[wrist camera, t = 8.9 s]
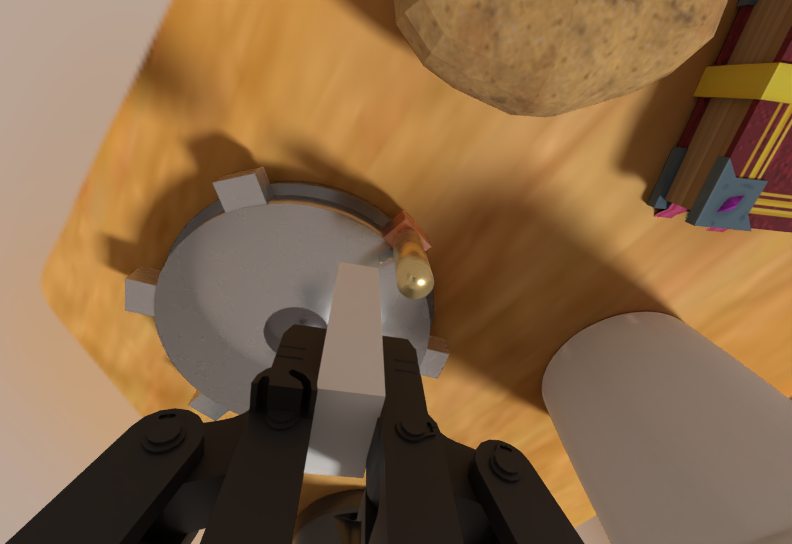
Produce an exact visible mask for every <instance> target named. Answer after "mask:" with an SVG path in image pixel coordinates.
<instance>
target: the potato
mask: <svg viewBox="0 0 792 544" xmlns="http://www.w3.org/2000/svg"><path fill="white" fill-rule="evenodd" d="M727 2H728V0H394V11H395V24H396V25H397V27H398V28H399V30H400V31H401V33H402V34H403V36H404V37H405V39H406V40H407V42H408V43H409V45H410V46H411V48H412V49H413V51H414V52H415V54H416V55H417V57H418V58H419V60H420V61H421V63H422V64H423V66H425V67H426V68H427V69H429V70H430V71H431V72H433V73H434V74H435V75H437V76H438V77H439V78H441V79H442V80H444V81H445V82H446V83H448V84H449V85H450V86H452V87H453V88H455V89H457V90H459V91H461V92H463V93H465V94H467V95H469V96H471V97H474V98H476V99H478V100H480V101H482V102H484V103H486V104H488V105H490V106H493V107H495V108H497V109H499V110H501V111H504V112H506V113H508V114H510V115H522V116H536V117H550V116H556V115H560V114H563V113H567V112H570V111H573V110H577V109H580V108H584V107H587V106H591V105H594V104H597V103H601V102H604V101H607V100H611V99H614V98H617V97H621V96H624V95H627V94H630V93H633V92H635V91H637V90H639V89H641V88H643V87H645V86H647V85H649V84H651V83H653V82H655V81H657V80H659V79H661V78H663V77H665V76H667V75H670V74H671V73H672V72H673V71H674V70H676V69H677V68H678V67H679V66H680V65H681V64H683V63H684V62H685V61H686V60H687V59H688V58H690V57H691V56H692V55H693V54H694V53H695V52H697V51H698V50H699V49H700V48H701V47H702V46H704V45H705V44H706V43H707V42H708V41H709V40H711V39H712V38H713V37H714V35H715V32H716V30H717V27H718V25H719V22H720V19H721V17H722V14H723V12H724V9H725V7H726V4H727Z"/></svg>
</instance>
